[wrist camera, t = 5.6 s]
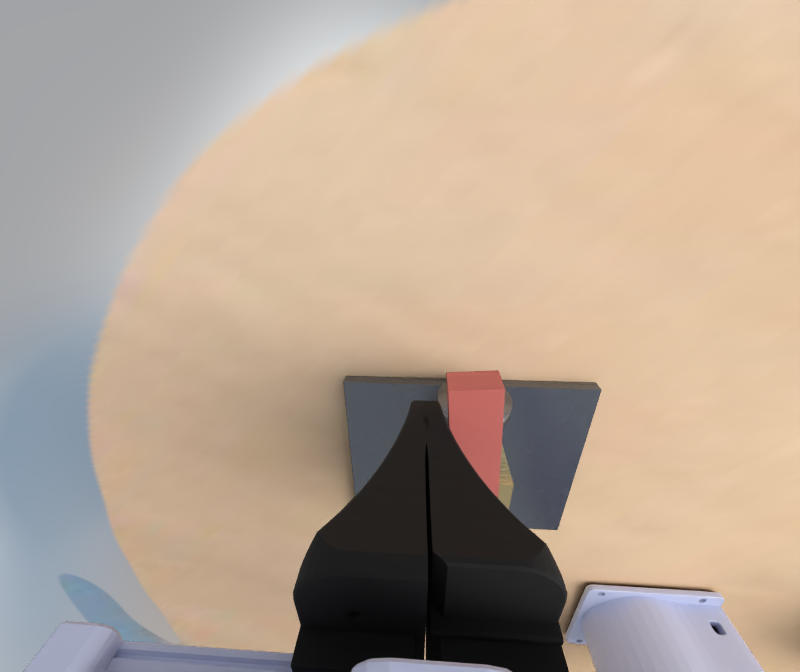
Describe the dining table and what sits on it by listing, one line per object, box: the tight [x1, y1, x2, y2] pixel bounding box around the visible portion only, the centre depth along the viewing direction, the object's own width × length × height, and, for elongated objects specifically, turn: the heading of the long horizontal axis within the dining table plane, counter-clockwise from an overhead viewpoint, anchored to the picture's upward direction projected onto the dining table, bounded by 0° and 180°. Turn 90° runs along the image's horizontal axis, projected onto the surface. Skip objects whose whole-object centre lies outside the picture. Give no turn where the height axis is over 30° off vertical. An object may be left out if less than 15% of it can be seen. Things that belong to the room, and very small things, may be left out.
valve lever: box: [446, 371, 505, 498], centre depth 14 cm, size 10×3×1 cm, turn 5°
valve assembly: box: [344, 376, 601, 530], centre depth 18 cm, size 12×13×4 cm
